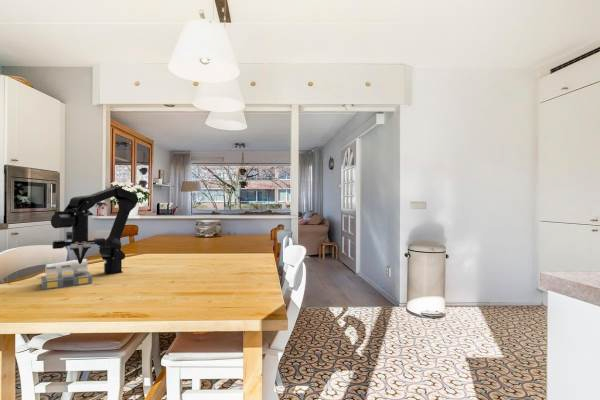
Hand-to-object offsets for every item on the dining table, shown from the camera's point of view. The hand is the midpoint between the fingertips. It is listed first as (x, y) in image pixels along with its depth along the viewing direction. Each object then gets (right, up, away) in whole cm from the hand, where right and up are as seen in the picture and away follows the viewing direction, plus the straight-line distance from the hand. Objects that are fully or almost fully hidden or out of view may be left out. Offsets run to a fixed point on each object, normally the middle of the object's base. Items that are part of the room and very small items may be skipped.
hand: (79, 263), depth 142 cm
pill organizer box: (-1, -7, -6) cm, 9 cm away
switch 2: (-1, -2, -6) cm, 6 cm away
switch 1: (-5, -2, -9) cm, 11 cm away
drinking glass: (-19, -4, +6) cm, 20 cm away
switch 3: (+2, -2, -3) cm, 4 cm away
